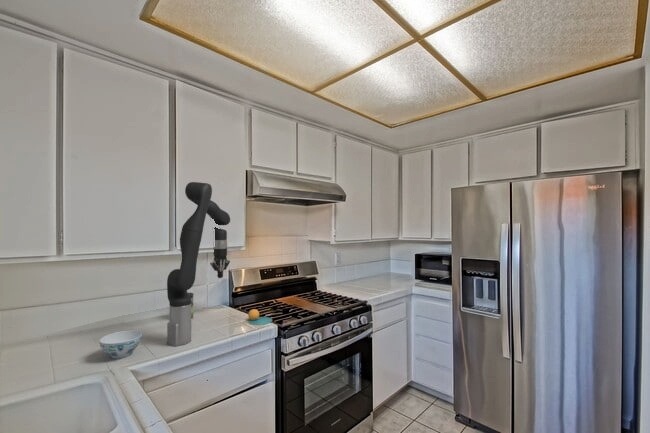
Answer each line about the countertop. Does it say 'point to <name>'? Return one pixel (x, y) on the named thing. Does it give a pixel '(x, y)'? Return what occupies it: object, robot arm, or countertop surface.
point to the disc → (260, 321)
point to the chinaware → (120, 343)
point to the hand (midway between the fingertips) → (220, 277)
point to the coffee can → (191, 304)
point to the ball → (253, 314)
